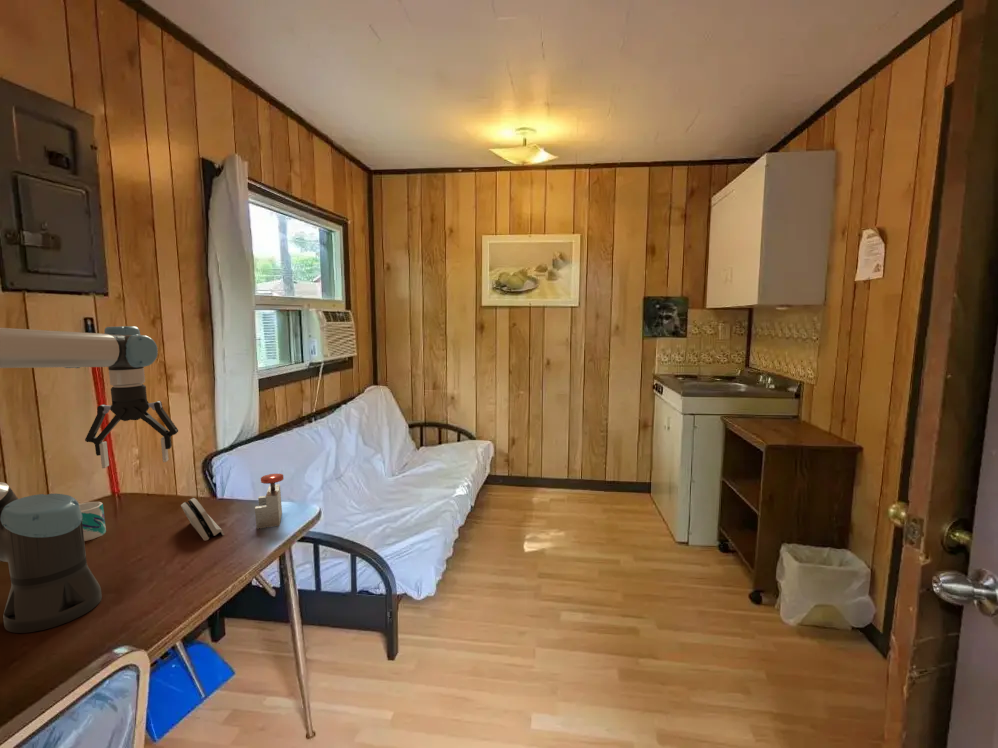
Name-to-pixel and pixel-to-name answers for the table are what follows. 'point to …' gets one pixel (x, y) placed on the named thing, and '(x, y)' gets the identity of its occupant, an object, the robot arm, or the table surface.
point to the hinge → (197, 513)
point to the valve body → (269, 503)
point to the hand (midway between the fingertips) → (136, 464)
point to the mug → (92, 520)
